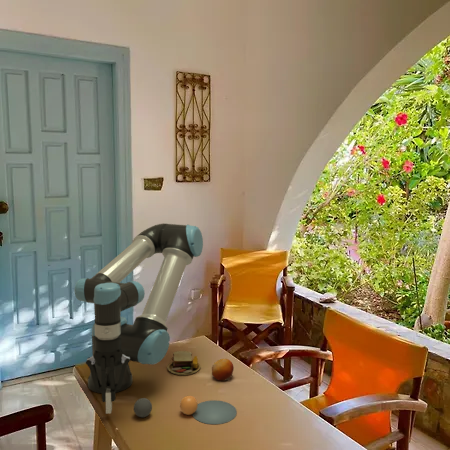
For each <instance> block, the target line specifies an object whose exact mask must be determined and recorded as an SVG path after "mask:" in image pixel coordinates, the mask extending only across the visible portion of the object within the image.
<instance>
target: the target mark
mask: <svg viewBox="0 0 450 450" xmlns="http://www.w3.org/2000/svg"><path fill="white" fill-rule="evenodd" d="M237 412H238V411H237V409H236V407H235V406H234V405H232V404H231V403H230V402H226V401H223V400H217V399H216V400H213V399H211V400H204V401H201V402H199V403H198V407H197V410H196V411H195V412H194V413H193V414H191V416H192V417H193V418H194V420H195V421H198V422H200V423H202V424H207V425H222V424H227V423H228V422H231V421H232V420H234V419H235V418H236V416H237Z"/></svg>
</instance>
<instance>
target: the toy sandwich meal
mask: <svg viewBox="0 0 450 450" xmlns="http://www.w3.org/2000/svg"><path fill="white" fill-rule="evenodd" d="M192 356H193V352H192V351H186V350H179V351H178V350H177V351H173V352H172V356H171V361H172V362H170V363H169V364H168V365H167V368H166V369H167V370H168V371H169V372H170V373H171V374H173V375H177V376H190V375H193V374H196V373H197V372H198V371H200V369H201V366H202V365H201V364H200V363H199V361H198V355H194V356H193V357H192Z"/></svg>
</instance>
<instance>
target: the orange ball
mask: <svg viewBox="0 0 450 450" xmlns="http://www.w3.org/2000/svg"><path fill="white" fill-rule="evenodd" d="M198 404H199V403H198V401H197V399H196V398H195V396H192V395H186V396H184V397H183V398H181V400H180V401H179V408H180V410H181V411H180V412H182V414H184V415H188V416H190V415H191V416H192V414H193V413H194V412H195V411H196V410H197V407H198Z"/></svg>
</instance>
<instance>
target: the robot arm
mask: <svg viewBox="0 0 450 450" xmlns="http://www.w3.org/2000/svg"><path fill="white" fill-rule="evenodd" d="M203 246H204V238H203V233H202V230H201V229H200V227H198V226H196V225H190V224H175V223H174V224H172V223H157V224H155V225H152V226H150V227H147V228H146V229H144V230H142V231H141V232H140V233H139V234H137V235H136V236H134V238H133V239H132V243H131V244H129V245H128V246H127V247H126V248H125V249H124V250H123V251H122V252H120V253H119V254H118V255H117V256H115V257H114V258H113V259H112V260H111V261H110V262H108V263H107V264H106V265H105V266H104V267H103V268H102V269H100V270H99V271H98V272H97V273H96V274H95V275H93V276H92V277H91V278H88V277H86V278H83V277H82V278H80V279H79V280H77V282H76V283H75V285H74V296H75V298H76V299H77V301H80V302H85V303H88V304H89V303H90V304H93V310H94V323H93V324H92V327H91V344H92V345H91V348H92V352H91V353H92V356H90V357H89V356H88V357H87V359H86V361H85V364H86V365H87V367H88V368H89V371H90V373H89V376H88V379H87V387H88V389H89V390H90V391H92V392H94V393H98V394H101V401H102V403H105V414H112V411H113V402H115V401H116V393H118V392H122V391H124V390H127V389H128V388H130V387H131V386H132V384H133V373H132V372H131V371H132V370H131V368H130V365H129V363H130V362H136V363H138V364H139V363H140V364H142V365H157V364H158V363H160V362H161V361H162V360H163V359H164V358H165V357H166V355H167V352H168V350H169V347H170V338H171V337H170V334H169V332H168V326H167V324H166V322H167V319H168V316H169V314H170V311H171V308H172V306H173V304H174V300H175V297H176V294H177V291H178V289H179V286H180V284H181V280H182V278H183V275H184V272H185V270H186V267H187V266H189V265H190V264H192V263H193V259H194V257H195V258H198V257H199V256H201V255H202V252H203ZM155 254H156V255H157V254H162V256H163V257H164V258H163V260H162V262H161V265H160V268H159V270H158V273H157V275H156V277H155V281H154V282H153V286H152V288H151V290H150V293H149V295H148V298H147V300H146V303H145V305H144V308H143V311H142V313H141V314H140V315H138V316H136V317H135V319H134V322H133V323H132V324H128V320H127V318H126V317H124V316H121V314H122V312H124V311H125V310H127V309H130V308H133V307H135V306H137V305H138V304H140V303H141V302H143V300H144V298H145V289H144V286H143V285H142V284H141V283H140V282H138V281H136V280H134V281H128V282H124V283H123V282H122V281H123V280H124V279H125V278H127V277H128V276H129V275H130V274H131V273H132V272H133V271H134V270H135V269H136V268H137V267H138V266H139V265H141V263H143V262H144V261H145V260H146V259H149V258H151V257H153V256H154V255H155Z"/></svg>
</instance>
